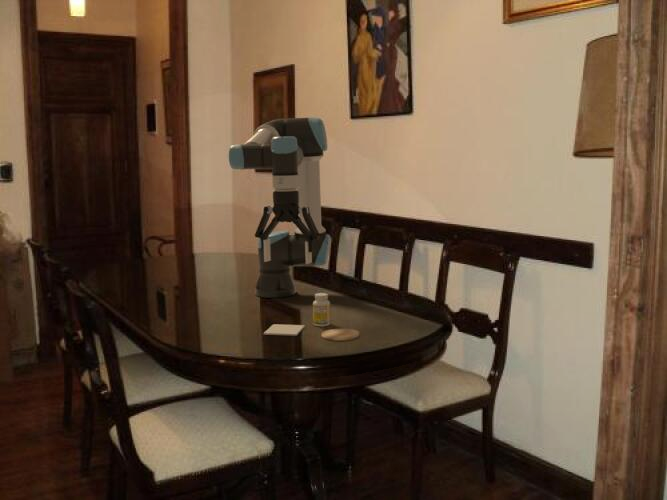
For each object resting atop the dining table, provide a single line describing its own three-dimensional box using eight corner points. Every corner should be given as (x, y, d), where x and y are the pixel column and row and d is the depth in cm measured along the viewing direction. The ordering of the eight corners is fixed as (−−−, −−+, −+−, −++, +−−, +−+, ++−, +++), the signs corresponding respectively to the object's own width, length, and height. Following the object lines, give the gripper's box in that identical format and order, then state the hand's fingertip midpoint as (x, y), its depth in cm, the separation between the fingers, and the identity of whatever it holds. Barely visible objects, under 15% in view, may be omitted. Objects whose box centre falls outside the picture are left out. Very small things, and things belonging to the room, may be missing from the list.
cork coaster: (315, 339, 199) (315, 337, 199) (329, 329, 209) (329, 327, 209) (351, 342, 195) (351, 340, 195) (364, 332, 205) (364, 330, 205)
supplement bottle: (322, 327, 211) (322, 297, 209) (309, 325, 214) (308, 294, 213) (334, 324, 215) (333, 293, 213) (321, 321, 218) (320, 291, 217)
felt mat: (263, 334, 205) (263, 332, 204) (273, 325, 214) (273, 324, 214) (296, 335, 202) (296, 334, 202) (304, 326, 212) (304, 325, 212)
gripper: (241, 190, 203) (244, 262, 206) (319, 191, 193) (321, 266, 196) (254, 189, 209) (256, 258, 212) (330, 189, 200) (331, 261, 203)
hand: (287, 262), depth 204 cm, fingers open, 13 cm apart
